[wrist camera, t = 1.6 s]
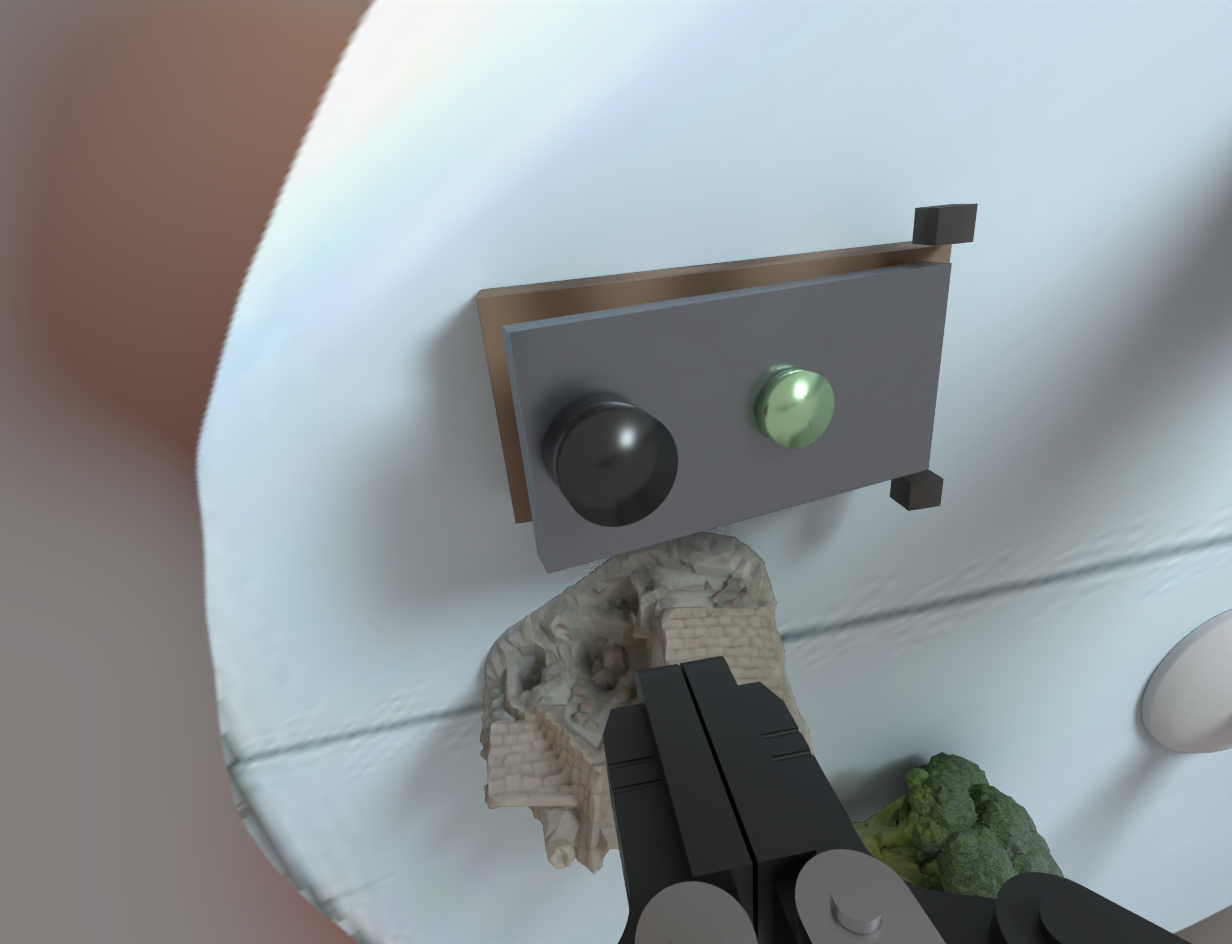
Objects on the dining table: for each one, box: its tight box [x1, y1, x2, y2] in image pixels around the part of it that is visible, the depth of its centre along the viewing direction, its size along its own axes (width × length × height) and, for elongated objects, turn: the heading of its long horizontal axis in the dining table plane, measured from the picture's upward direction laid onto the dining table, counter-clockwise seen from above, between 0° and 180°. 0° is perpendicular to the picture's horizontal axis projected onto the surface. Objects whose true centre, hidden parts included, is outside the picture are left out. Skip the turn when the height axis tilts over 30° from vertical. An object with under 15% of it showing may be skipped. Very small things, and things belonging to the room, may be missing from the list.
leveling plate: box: [501, 261, 952, 573], centre depth 24 cm, size 18×9×4 cm, turn 95°
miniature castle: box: [480, 532, 814, 874], centre depth 30 cm, size 16×16×15 cm
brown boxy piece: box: [477, 204, 978, 523], centre depth 28 cm, size 20×13×5 cm, turn 95°
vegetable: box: [851, 752, 1064, 899], centre depth 40 cm, size 12×13×15 cm
